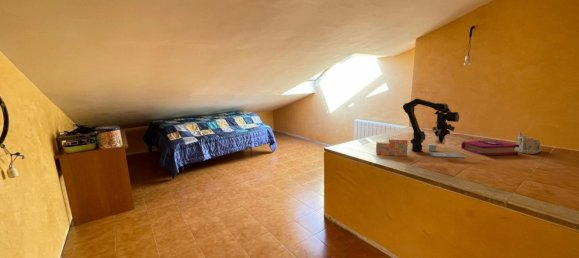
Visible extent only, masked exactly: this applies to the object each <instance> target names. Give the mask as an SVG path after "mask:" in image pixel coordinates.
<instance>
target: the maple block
mask: <svg viewBox="0 0 579 258" xmlns="http://www.w3.org/2000/svg"><path fill="white" fill-rule="evenodd" d="M434 144H436V145H446V136H445V137H444V139H443V142H442V143H440V140H439V137H438V136H436V135H435V140H434Z"/></svg>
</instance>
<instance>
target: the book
mask: <svg viewBox="0 0 579 258" xmlns="http://www.w3.org/2000/svg"><path fill="white" fill-rule="evenodd" d="M515 147H519V145H517V144H516V143H512V142H511V143H510V142H506V141H502V140H496V139H495V140H471V141H469V140H467V141H462V142H461V145H460V148H461V149H463V150H465V151H467V152H470V153H474V154H477V155H479V156H484V157H485V156H486V157H488V156H509V155H513V156H515V155H519V152H518V151H516V150H515Z"/></svg>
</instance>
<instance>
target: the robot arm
mask: <svg viewBox="0 0 579 258" xmlns="http://www.w3.org/2000/svg"><path fill="white" fill-rule="evenodd" d="M418 105H421V106H424V107H429V108H431V109H433V110H435V111H436V112H434V113H433V115H436V121H435V124H436V125H435V126H433V127H432V129H431V130H432V131H433V133H434V136H435V137H436V136H438V137H439V140H440V143H442V142H443V139H444V137H445V138H446V136H448V135H450V134H451V132H454V131H455V129H456V127H455V126H452V124H451V123H458V122H459V121H460V114H459V112H458V111H451V109H450V108H449V105H448V104H447V103H444V102H443V103H442V102H435V101H434V102H433V101H430V100H426V99H422V98H419V97H418V98H415V99H413V100H411V101H408V102H405V103H403V105H402V109H403V111H404V113H405V114H407V117H408V118H409V122H410V125H411V128H412V130H413V134H412V135H413V137H412V139H410V143H411V151H412V152H423V145H422V144H423V142H424V141H425V140H426V136H427V135H426V134H425V131H422V130H421V128H420V124H419V123H418V122H419V121H418V119H417V117H416V114H415V107H417V106H418ZM447 122H451V123H447Z"/></svg>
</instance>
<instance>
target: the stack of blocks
mask: <svg viewBox="0 0 579 258" xmlns="http://www.w3.org/2000/svg"><path fill="white" fill-rule="evenodd" d="M408 145H409V144H408V139H407V138H401V137H400V138H399V137H397V138H396V137H395V138H391V137H390V138H388V141H376V146H375V153H376V155H377V156H394V157H395V156H398V157H407V156H408Z"/></svg>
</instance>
